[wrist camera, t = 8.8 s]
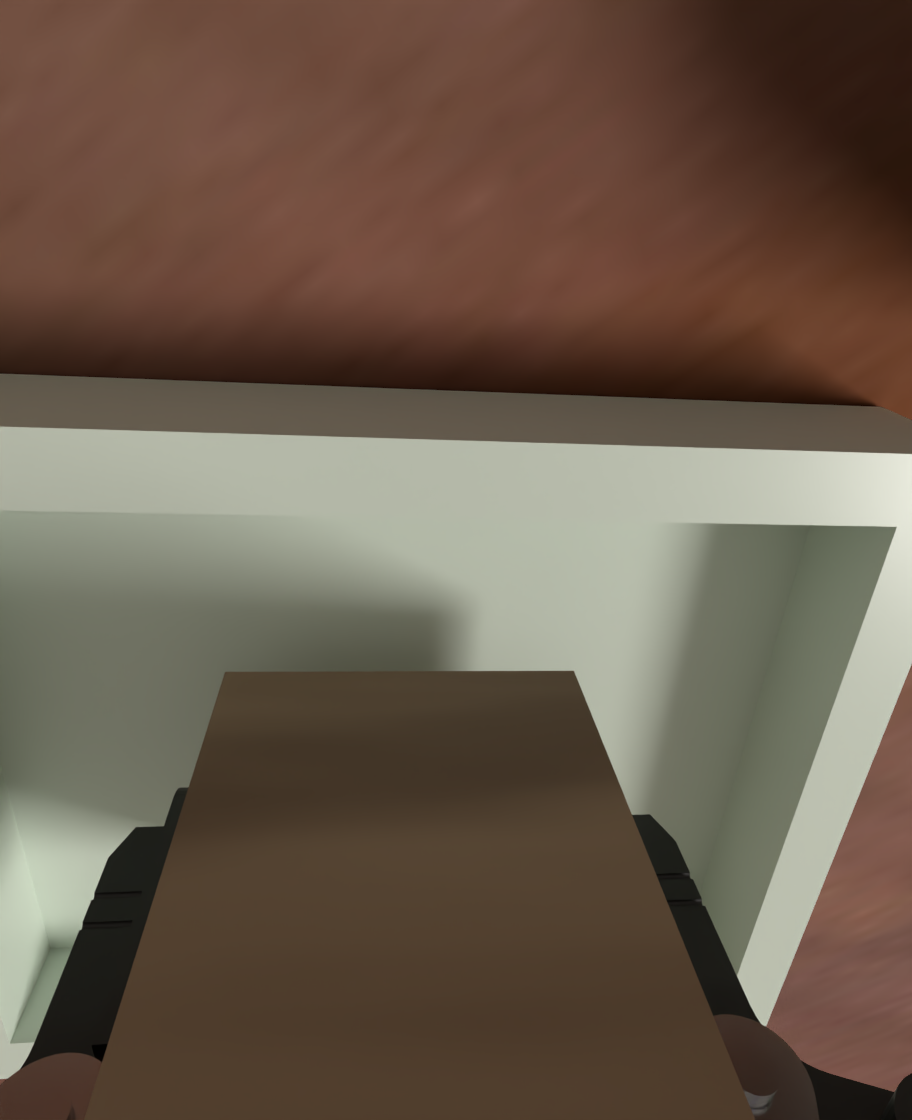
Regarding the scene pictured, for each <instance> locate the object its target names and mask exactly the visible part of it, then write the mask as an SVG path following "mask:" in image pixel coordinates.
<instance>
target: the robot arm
mask: <svg viewBox="0 0 912 1120" xmlns="http://www.w3.org/2000/svg"><path fill="white" fill-rule="evenodd" d="M188 788H189V787H181V788H178V789H177V791H176V792H175V795H174V797H173V800H172V803H171V806H170V809H169V812H168V815H167V818H166V821H165V824H164V826H154V827H135V829H134V830H133V831H132V832H131V833H130V834H129V835H128V836H127V837H126V839H125V840H124V841H123V842H122V843H121V844H120V845H119V846H118V847H117V848H116V850H115V851H114V852H113V853H112V854H111V855H110V856H109V857H108V860H107V862H106V865H105V867H104V870H103V872H102V875H101V877H100V880H99V882H98V885H97V887H96V890H95V892H94V899H93V900H91V902H90V905H89V907H88V910H87V912H86V915H85V917H84V920H83V922H82V923H83V925H82V929H81V930H79V932H78V935H77V937H76V940H75V942H74V945H73V947H72V950H71V952H70V955H69V957H68V960H67V962H66V965H65V967H64V970H63V972H62V975H61V977H60V980H59V982H58V985H57V987H56V990H55V992H54V995H53V997H52V1000H51V1002H50V1005H49V1007H48V1010H47V1012H46V1015H45V1017H44V1020H43V1022H42V1025H41V1027H40V1030H39V1032H38V1035H37V1037H36V1040H35V1042H34V1045H33V1047H32V1049H31V1051H30V1053H29V1055H28V1057H27V1059H26V1061H25V1062H24V1064H23V1065H22V1067H21V1069H20V1070H18V1071H17V1072H16V1073H14V1074H13V1075H12V1076H10V1077H9V1078H8V1079H6V1080H5V1081H4V1082H3V1083H2V1084H1V1085H0V1120H84V1118H85V1115H86V1112H87V1108H88V1105H89V1102H90V1099H91V1096H92V1093H93V1089H94V1086H95V1083H96V1080H97V1077H98V1074H99V1070H100V1067H101V1064H102V1061H103V1058H104V1054H105V1051H106V1048H107V1045H108V1042H109V1039H110V1035H111V1032H112V1029H113V1026H114V1023H115V1020H116V1016H117V1013H118V1010H119V1007H120V1004H121V1000H122V997H123V994H124V991H125V988H126V985H127V981H128V978H129V975H130V972H131V969H132V966H133V962H134V959H135V956H136V953H137V950H138V947H139V943H140V940H141V937H142V934H143V931H144V927H145V924H146V921H147V918H148V915H149V912H150V908H151V905H152V902H153V899H154V896H155V893H156V889H157V886H158V883H159V880H160V877H161V873H162V870H163V867H164V864H165V861H166V858H167V854H168V851H169V848H170V845H171V842H172V839H173V835H174V832H175V829H176V826H177V823H178V819H179V816H180V813H181V810H182V807H183V804H184V800H185V797H186V794H187V791H188ZM632 816H633V818H634V821H635V823H636V826H637V828H638V831H639V833H640V836H641V838H642V841H643V843H644V846H645V848H646V851H647V853H648V856H649V858H650V861H651V863H652V866H653V868H654V871H655V873H656V875H657V878H658V880H659V883H660V885H661V888H662V890H663V893H664V895H665V898H666V900H667V903H668V905H669V908H670V910H671V913H672V915H673V918H674V920H675V923H676V925H677V928H678V930H679V932H680V935H681V937H682V940H683V942H684V945H685V947H686V950H687V952H688V955H689V957H690V960H691V962H692V965H693V967H694V970H695V972H696V975H697V977H698V980H699V982H700V985H701V987H702V989H703V992H704V994H705V997H706V999H707V1002H708V1004H709V1007H710V1009H711V1012H712V1014H713V1017H714V1019H715V1022H716V1024H717V1027H718V1029H719V1032H720V1034H721V1037H722V1039H723V1042H724V1044H725V1046H726V1049H727V1051H728V1054H729V1056H730V1059H731V1061H732V1064H733V1066H734V1069H735V1071H736V1074H737V1076H738V1079H739V1081H740V1084H741V1086H742V1089H743V1091H744V1094H745V1096H746V1098H747V1101H748V1103H749V1106H750V1108H751V1111H752V1113H753V1116H754V1118H755V1120H912V1073H911V1074H910V1075H908V1076H907V1077H905V1078H904V1079H903V1080H902V1081H901V1083H900V1084H899V1085H898V1087H897V1089H896V1091H895V1092H892V1091H888V1090H885V1089H881V1088H878V1087H874V1086H871V1085H867V1084H864V1083H860V1082H857V1081H853V1080H850V1079H846V1078H843V1077H839V1076H836V1075H832V1074H829V1073H826V1072H824V1071H821V1070H818V1069H816V1068H814V1067H812V1066H810V1065H808V1064H806V1063H804V1062H803V1061H801V1060H800V1059H799V1057H798V1056H797V1055H796V1053H795V1052H794V1051H793V1050H792V1048H791V1047H790V1046H789V1045H788V1044H787V1043H786V1042H785V1041H784V1040H783V1039H782V1038H780V1037H779V1036H778V1035H777V1034H776V1033H774V1032H773V1031H772V1030H770V1029H769V1028H767V1027H766V1026H764V1025H762V1024H761V1023H760V1021H759V1020H758V1018H757V1017H756V1015H755V1013H754V1012H753V1010H752V1008H751V1006H750V1004H749V1002H748V999H747V997H746V995H745V993H744V991H743V988H742V986H741V984H740V982H739V980H738V977H737V975H736V973H735V971H734V969H733V966H732V964H731V962H730V960H729V957H728V955H727V953H726V951H725V949H724V946H723V944H722V942H721V940H720V938H719V935H718V933H717V931H716V929H715V927H714V924H713V922H712V920H711V918H710V916H709V913H708V911H707V909H706V907H705V906H703V905H702V898H701V896H700V894H699V891H698V889H697V887H696V885H695V883H694V880H693V879H691V878H690V871H689V869H688V867H687V865H686V863H685V860H684V858H683V856H682V854H681V852H680V849H679V847H678V845H677V843H676V841H675V840H674V839H673V838H672V837H671V836H670V835H669V834H668V833H667V831H666V830H665V829H664V828H663V827H662V826H661V825H660V824H659V823H658V822H657V821H656V820H655V819H654V818H653V817H652V816H651V815H650V814H644V815H632Z"/></svg>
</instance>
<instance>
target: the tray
mask: <svg viewBox="0 0 912 1120" xmlns="http://www.w3.org/2000/svg"><path fill="white" fill-rule="evenodd" d="M911 664H912V420H910V419H908V418H906V417H903V416H901V415H899V414H896V413H894V412H892V411H890V410H887V409H885V408H883V407H872V406H845V405H819V404H792V403H766V402H739V401H713V400H687V399H660V398H634V397H607V396H581V395H554V394H528V393H501V392H475V391H448V390H422V389H395V388H369V387H342V386H316V385H290V384H263V383H237V382H210V381H184V380H157V379H131V378H104V377H78V376H51V375H25V374H0V1079H7V1078H9V1077H10V1076H12V1075H13V1074H14V1073H16V1072H17V1071H18V1070H20V1069H21V1067H22V1065H23V1064H24V1062H25V1061H26V1059H27V1057H28V1055H29V1053H30V1051H31V1049H32V1047H33V1045H34V1042H35V1040H36V1037H37V1035H38V1032H39V1030H40V1027H41V1025H42V1022H43V1020H44V1017H45V1015H46V1012H47V1010H48V1007H49V1005H50V1002H51V1000H52V997H53V995H54V992H55V990H56V987H57V985H58V982H59V980H60V977H61V975H62V972H63V970H64V967H65V965H66V962H67V960H68V957H69V955H70V952H71V950H72V947H73V945H74V942H75V940H76V937H77V935H78V932H79V930H81V929H82V925H83V923H82V922H83V920H84V917H85V915H86V912H87V910H88V907H89V905H90V902H91V900H93V899H94V892H95V890H96V887H97V885H98V882H99V880H100V877H101V875H102V872H103V870H104V867H105V865H106V862H107V860H108V857H109V856H110V855H111V854H112V853H113V852H114V851H115V850H116V848H117V847H118V846H119V845H120V844H121V843H122V842H123V841H124V840H125V839H126V837H127V836H128V835H129V834H130V833H131V832H132V831H133V830H134V829H135V827H154V826H164V824H165V821H166V818H167V815H168V812H169V809H170V806H171V803H172V800H173V797H174V795H175V792H176V791H177V789H178V788H181V787H189V785H190V781H191V778H192V775H193V772H194V769H195V765H196V762H197V759H198V756H199V753H200V750H201V746H202V743H203V740H204V737H205V734H206V731H207V727H208V724H209V721H210V718H211V715H212V711H213V708H214V705H215V702H216V699H217V696H218V692H219V689H220V686H221V683H222V680H223V677H224V673H225V672H314V671H574V672H575V675H576V677H577V680H578V682H579V685H580V687H581V690H582V692H583V695H584V697H585V700H586V702H587V705H588V707H589V709H590V712H591V714H592V717H593V719H594V722H595V724H596V727H597V729H598V732H599V734H600V737H601V739H602V742H603V744H604V747H605V749H606V752H607V754H608V757H609V759H610V762H611V764H612V766H613V769H614V771H615V774H616V776H617V779H618V781H619V784H620V786H621V789H622V791H623V794H624V796H625V799H626V801H627V804H628V806H629V809H630V811H631V814H632V815H644V814H650V815H651V816H652V817H653V818H654V819H655V820H656V821H657V822H658V823H659V824H660V825H661V826H662V827H663V828H664V829H665V830H666V831H667V833H668V834H669V835H670V836H671V837H672V838H673V839H674V840H675V841H676V843H677V845H678V847H679V849H680V852H681V854H682V856H683V858H684V860H685V863H686V865H687V867H688V869H689V871H690V878H691V879H693V880H694V883H695V885H696V887H697V889H698V891H699V894H700V896H701V898H702V905H703V906H705V907H706V909H707V911H708V913H709V916H710V918H711V920H712V922H713V924H714V927H715V929H716V931H717V933H718V935H719V938H720V940H721V942H722V944H723V946H724V949H725V951H726V953H727V955H728V957H729V960H730V962H731V964H732V966H733V969H734V971H735V973H736V975H737V977H738V980H739V982H740V984H741V986H742V988H743V991H744V993H745V995H746V997H747V999H748V1002H749V1004H750V1006H751V1008H752V1010H753V1012H754V1013H755V1015H756V1017H757V1018H758V1020H759V1021H760V1023H761V1024H762V1025H764V1026H766V1025H767V1023H768V1020H769V1018H770V1015H771V1013H772V1010H773V1008H774V1005H775V1003H776V1000H777V998H778V995H779V993H780V990H781V988H782V985H783V983H784V980H785V978H786V975H787V973H788V970H789V968H790V965H791V963H792V960H793V958H794V955H795V953H796V950H797V948H798V945H799V943H800V940H801V938H802V936H803V933H804V931H805V928H806V926H807V923H808V921H809V918H810V916H811V913H812V911H813V908H814V906H815V903H816V901H817V898H818V896H819V893H820V891H821V888H822V886H823V883H824V881H825V878H826V876H827V873H828V871H829V868H830V866H831V863H832V861H833V858H834V856H835V853H836V851H837V848H838V846H839V843H840V841H841V838H842V836H843V834H844V831H845V829H846V826H847V824H848V821H849V819H850V816H851V814H852V811H853V809H854V806H855V804H856V801H857V799H858V796H859V794H860V791H861V789H862V786H863V784H864V781H865V779H866V776H867V774H868V771H869V769H870V766H871V764H872V761H873V759H874V756H875V754H876V751H877V749H878V746H879V744H880V741H881V739H882V736H883V734H884V732H885V729H886V727H887V724H888V722H889V719H890V717H891V714H892V712H893V709H894V707H895V704H896V702H897V699H898V697H899V694H900V692H901V689H902V687H903V684H904V682H905V679H906V677H907V674H908V672H909V669H910V667H911Z"/></svg>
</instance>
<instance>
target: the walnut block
mask: <svg viewBox="0 0 912 1120" xmlns="http://www.w3.org/2000/svg"><path fill="white" fill-rule="evenodd" d="M84 1120H755V1118H754V1116H753V1113H752V1111H751V1108H750V1106H749V1103H748V1101H747V1098H746V1096H745V1094H744V1091H743V1089H742V1086H741V1084H740V1081H739V1079H738V1076H737V1074H736V1071H735V1069H734V1066H733V1064H732V1061H731V1059H730V1056H729V1054H728V1051H727V1049H726V1046H725V1044H724V1042H723V1039H722V1037H721V1034H720V1032H719V1029H718V1027H717V1024H716V1022H715V1019H714V1017H713V1014H712V1012H711V1009H710V1007H709V1004H708V1002H707V999H706V997H705V994H704V992H703V989H702V987H701V985H700V982H699V980H698V977H697V975H696V972H695V970H694V967H693V965H692V962H691V960H690V957H689V955H688V952H687V950H686V947H685V945H684V942H683V940H682V937H681V935H680V932H679V930H678V928H677V925H676V923H675V920H674V918H673V915H672V913H671V910H670V908H669V905H668V903H667V900H666V898H665V895H664V893H663V890H662V888H661V885H660V883H659V880H658V878H657V875H656V873H655V871H654V868H653V866H652V863H651V861H650V858H649V856H648V853H647V851H646V848H645V846H644V843H643V841H642V838H641V836H640V833H639V831H638V828H637V826H636V823H635V821H634V818H633V816H632V814H631V811H630V809H629V806H628V804H627V801H626V799H625V796H624V794H623V791H622V789H621V786H620V784H619V781H618V779H617V776H616V774H615V771H614V769H613V766H612V764H611V762H610V759H609V757H608V754H607V752H606V749H605V747H604V744H603V742H602V739H601V737H600V734H599V732H598V729H597V727H596V724H595V722H594V719H593V717H592V714H591V712H590V709H589V707H588V705H587V702H586V700H585V697H584V695H583V692H582V690H581V687H580V685H579V682H578V680H577V677H576V675H575V672H574V671H314V672H225V673H224V677H223V680H222V683H221V686H220V689H219V692H218V696H217V699H216V702H215V705H214V708H213V711H212V715H211V718H210V721H209V724H208V727H207V731H206V734H205V737H204V740H203V743H202V746H201V750H200V753H199V756H198V759H197V762H196V765H195V769H194V772H193V775H192V778H191V781H190V785H189V788H188V791H187V794H186V797H185V800H184V804H183V807H182V810H181V813H180V816H179V819H178V823H177V826H176V829H175V832H174V835H173V839H172V842H171V845H170V848H169V851H168V854H167V858H166V861H165V864H164V867H163V870H162V873H161V877H160V880H159V883H158V886H157V889H156V893H155V896H154V899H153V902H152V905H151V908H150V912H149V915H148V918H147V921H146V924H145V927H144V931H143V934H142V937H141V940H140V943H139V947H138V950H137V953H136V956H135V959H134V962H133V966H132V969H131V972H130V975H129V978H128V981H127V985H126V988H125V991H124V994H123V997H122V1000H121V1004H120V1007H119V1010H118V1013H117V1016H116V1020H115V1023H114V1026H113V1029H112V1032H111V1035H110V1039H109V1042H108V1045H107V1048H106V1051H105V1054H104V1058H103V1061H102V1064H101V1067H100V1070H99V1074H98V1077H97V1080H96V1083H95V1086H94V1089H93V1093H92V1096H91V1099H90V1102H89V1105H88V1108H87V1112H86V1115H85V1118H84Z"/></svg>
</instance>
